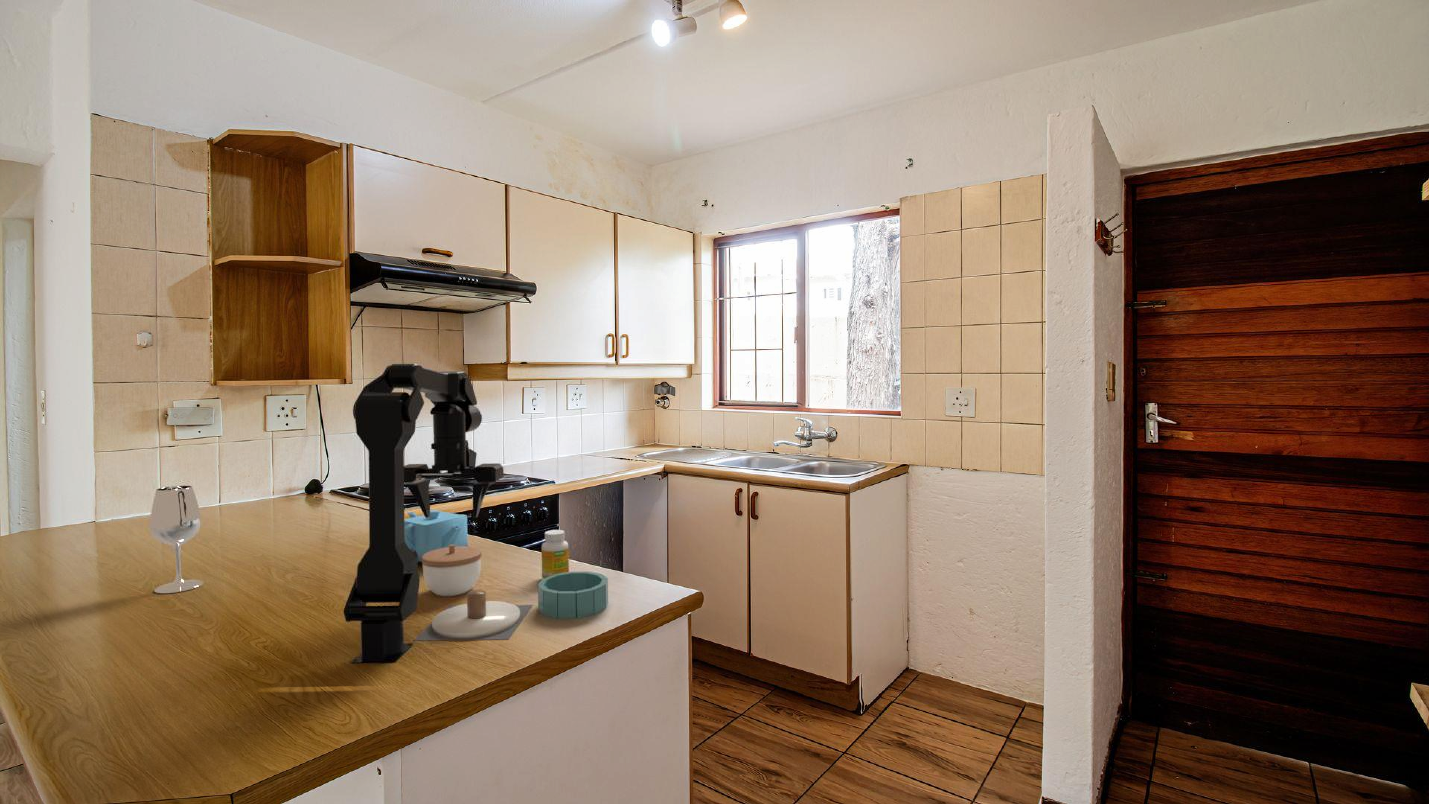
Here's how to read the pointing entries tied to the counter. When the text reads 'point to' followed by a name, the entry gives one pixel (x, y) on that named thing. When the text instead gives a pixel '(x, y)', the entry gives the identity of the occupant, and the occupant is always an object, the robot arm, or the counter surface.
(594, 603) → the bowl
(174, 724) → the counter surface
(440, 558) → the lidded jar
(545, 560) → the supplement bottle
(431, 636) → the mat
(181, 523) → the wineglass
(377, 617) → the robot arm
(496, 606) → the lid
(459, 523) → the teapot
